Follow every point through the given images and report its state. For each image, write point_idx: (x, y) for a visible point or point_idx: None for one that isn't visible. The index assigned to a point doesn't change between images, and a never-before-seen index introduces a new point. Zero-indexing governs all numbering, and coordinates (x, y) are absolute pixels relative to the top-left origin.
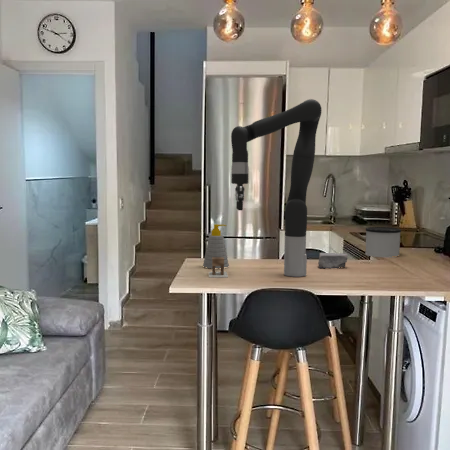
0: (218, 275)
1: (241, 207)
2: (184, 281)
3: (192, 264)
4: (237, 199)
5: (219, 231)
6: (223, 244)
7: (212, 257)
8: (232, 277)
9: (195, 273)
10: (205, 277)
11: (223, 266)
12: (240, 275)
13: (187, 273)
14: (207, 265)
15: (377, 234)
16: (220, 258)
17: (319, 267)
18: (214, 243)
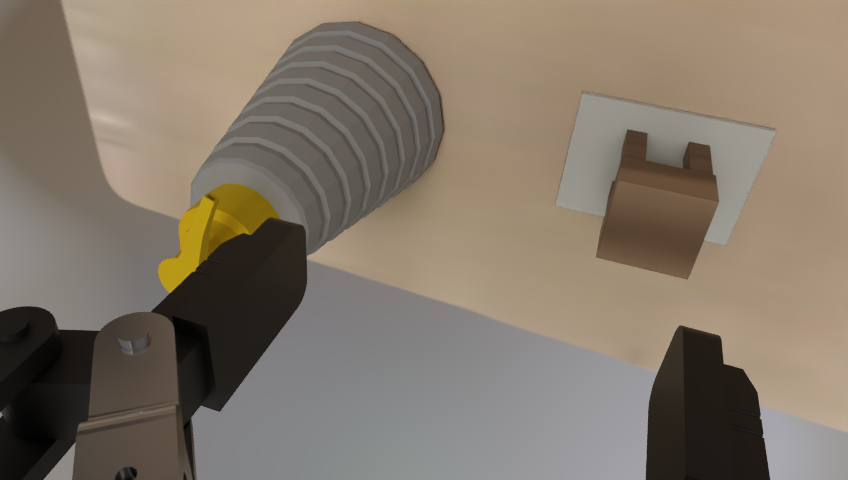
0: None
1: (752, 409)
2: (792, 383)
3: None
4: (187, 424)
5: (248, 225)
6: (316, 137)
7: (610, 258)
8: (785, 94)
9: (566, 277)
10: (714, 258)
11: (712, 176)
12: (727, 12)
13: (556, 313)
14: (409, 185)
15: None
16: (679, 220)
17: None
18: (340, 219)
